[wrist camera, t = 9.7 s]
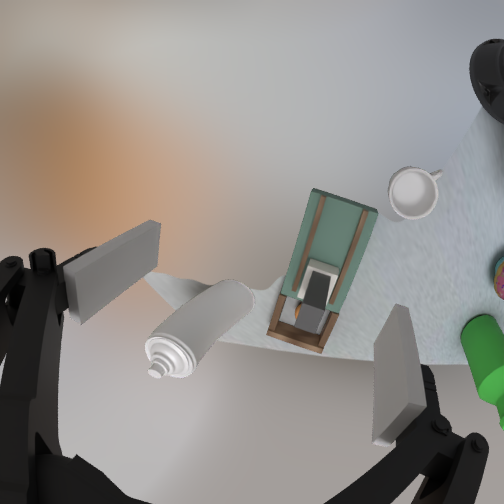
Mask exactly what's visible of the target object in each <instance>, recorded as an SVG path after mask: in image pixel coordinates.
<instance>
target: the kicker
mask: <svg viewBox="0 0 504 504" xmlns="http://www.w3.org/2000/svg"><path fill="white" fill-rule="evenodd" d="M338 273H339V268H338V267H335V266H332V265H329V264H326V263H323V262H320V261H317V260H314V259H311V258H310V261H309V264H308V267H307V270H306V273H305V276H304V279H303V281H302V284H301V287H300V290H299V293H298V296H297V297H298V298H301V299H303V301H302V304H301V307H300V310H299V313H298V316H297V319H296V322H295V325H294V327H296V328H299V329H302V330H305V331H308V332H311V333H314V334H315V333H316V330H317V328H318V326H319V323H320V321H321V319H322V316H323V314H324V312H325V307H326V305H327V302H328V300H329V298H330V295H331V293H332V290H333V288H334V285H335V283H336V280H337V277H338Z"/></svg>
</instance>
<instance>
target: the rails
mask: <svg viewBox="0 0 504 504" xmlns="http://www.w3.org/2000/svg"><path fill="white" fill-rule="evenodd" d="M326 197H327V196H324V195H321V198H320V201H319V205H318V208H317V211H316V215H315V218H314V221H313V225H312V228H311V231H310V234H309V237H308V241H307V244H306V247H305V250H304V253H303V257H302V260H301V263H300V266H299V269H298V272H297V275H296V278H295V281H294V284H293V287H292V290H291V291H294V292H296V290H297V287H298V284H299V282H300V279H301V276H302V273H303V270H304V267H305V264H306V261H307V258H308V254H309V251H310V248H311V245H312V242H313V239H314V236H315V233H316V229H317V226H318V223H319V220H320V217H321V213H322V210H323V207H324V203H325V200H326ZM368 213H369V212H368V210H366V209H363V211H362V214H361V217H360V220H359V223H358V226H357V229H356V232H355V234H354V237H353V240H352V243H351V245H350V248H349V251H348V254H347V256H346V259H345V262H344V264H343V267H342V269H341V272H340V275H339V277H338V280H337V282H336V285H335V287H334V290H333V292H332V295H331V297H330V300H329V304H332V305H333V304H334V302H335V299H336V297H337V294H338V292H339V290H340V287H341V285H342V282H343V280H344V277H345V275H346V272H347V270H348V267H349V265H350V262H351V259H352V257H353V254H354V252H355V249H356V246H357V243H358V241H359V238H360V235H361V233H362V230H363V227H364V224H365V221H366V218H367V216H368Z"/></svg>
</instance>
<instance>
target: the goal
mask: <svg viewBox="0 0 504 504" xmlns="http://www.w3.org/2000/svg"><path fill="white" fill-rule="evenodd" d="M286 297H287V296H286V295H283V294H281V292H280V294H279V297H278V300H277V304H276V307H275V310H274V313H273V316H272V319H271V322H270V325H269V328H268V331H267V334H266V335H268V336H271V337H274V338H276V339H279V340H282V341H285V342H288V343H291V344H294V345H296V346H299V347H302V348H305V349H308V350H311V351H314V352H317V353H320V354H321V353H322V351H323V349H324V346H325V344H326V342H327V340H328V338H329V336H330V333H331V331H332V329H333V327H334V325H335V323H336V321H337V318H338V316H339V313H336V312H333V311H331V312H330V314H329V316H328V318H327V321H326V323H325V325H324V327H323V330H322V332H321V334H320V335H318V334H314V333H311V332H308V331H305V330H302V329H299V328H296V327H294V326H292V325H289V324H286V323H283V322H281V321H279V318H280V315H281V312H282V309H283V306H284V303H285V300H286Z"/></svg>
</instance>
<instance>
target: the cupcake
mask: <svg viewBox="0 0 504 504" xmlns="http://www.w3.org/2000/svg"><path fill="white" fill-rule="evenodd" d="M494 289H495V291H496V293H497V295H498V296H499V297H500V298H501V299H503V300H504V257H502V258H501V259H499V261H498V262H497V264H496V266H495V277H494Z"/></svg>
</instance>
